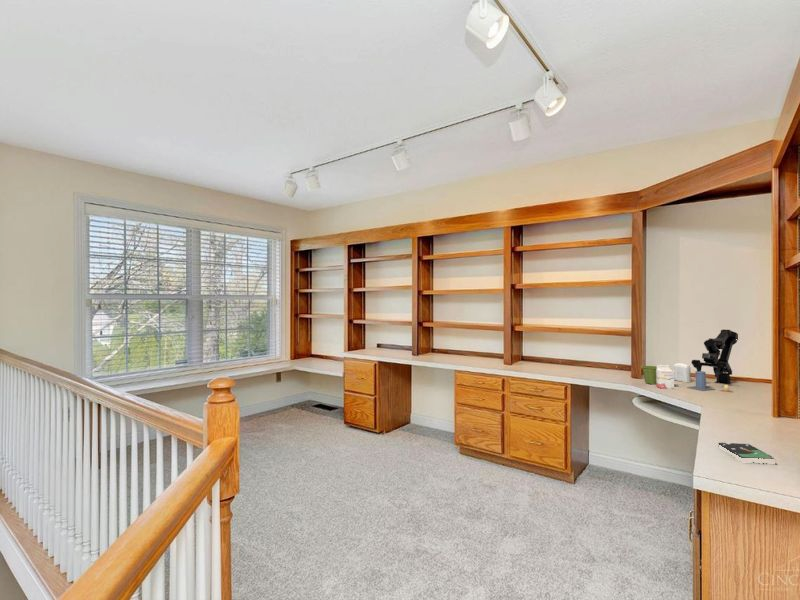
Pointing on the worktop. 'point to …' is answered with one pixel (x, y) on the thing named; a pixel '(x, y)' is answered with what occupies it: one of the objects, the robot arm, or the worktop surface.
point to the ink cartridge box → (664, 377)
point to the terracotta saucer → (726, 389)
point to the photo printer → (682, 372)
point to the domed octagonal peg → (700, 379)
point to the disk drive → (745, 451)
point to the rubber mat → (701, 389)
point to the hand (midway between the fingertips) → (706, 375)
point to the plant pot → (650, 374)
